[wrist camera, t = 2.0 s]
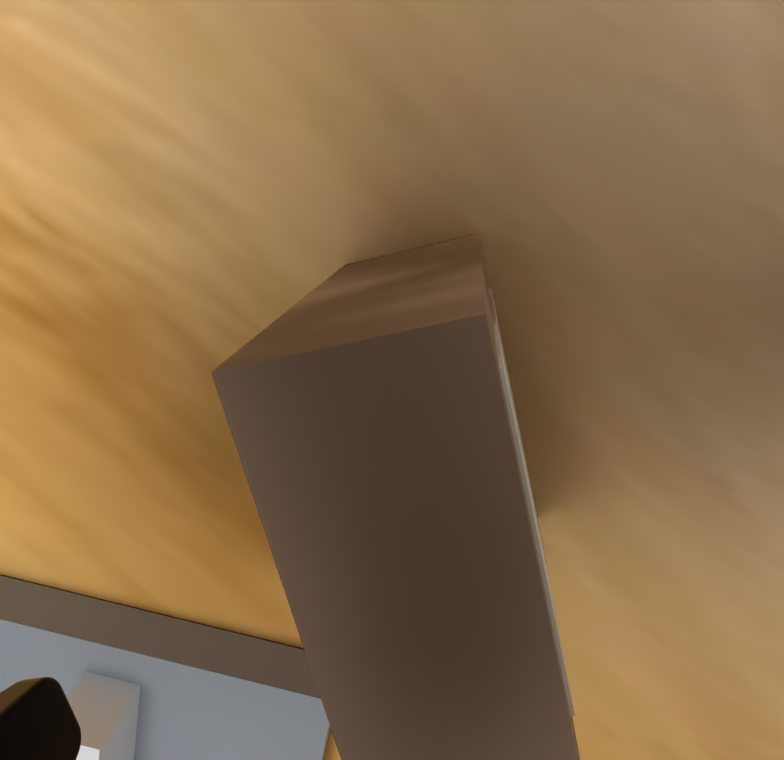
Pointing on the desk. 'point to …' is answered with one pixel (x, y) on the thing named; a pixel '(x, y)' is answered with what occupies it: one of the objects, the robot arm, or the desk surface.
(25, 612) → the stand
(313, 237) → the desk surface
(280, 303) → the desk surface
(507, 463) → the brown recessed panel block
